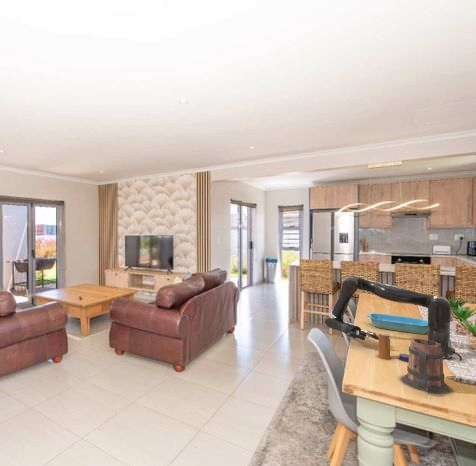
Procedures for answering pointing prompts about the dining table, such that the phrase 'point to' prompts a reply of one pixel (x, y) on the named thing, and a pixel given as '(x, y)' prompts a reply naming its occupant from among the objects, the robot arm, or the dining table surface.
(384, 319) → the casserole dish
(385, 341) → the jar
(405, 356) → the lid
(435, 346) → the tankard
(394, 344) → the dining table surface
